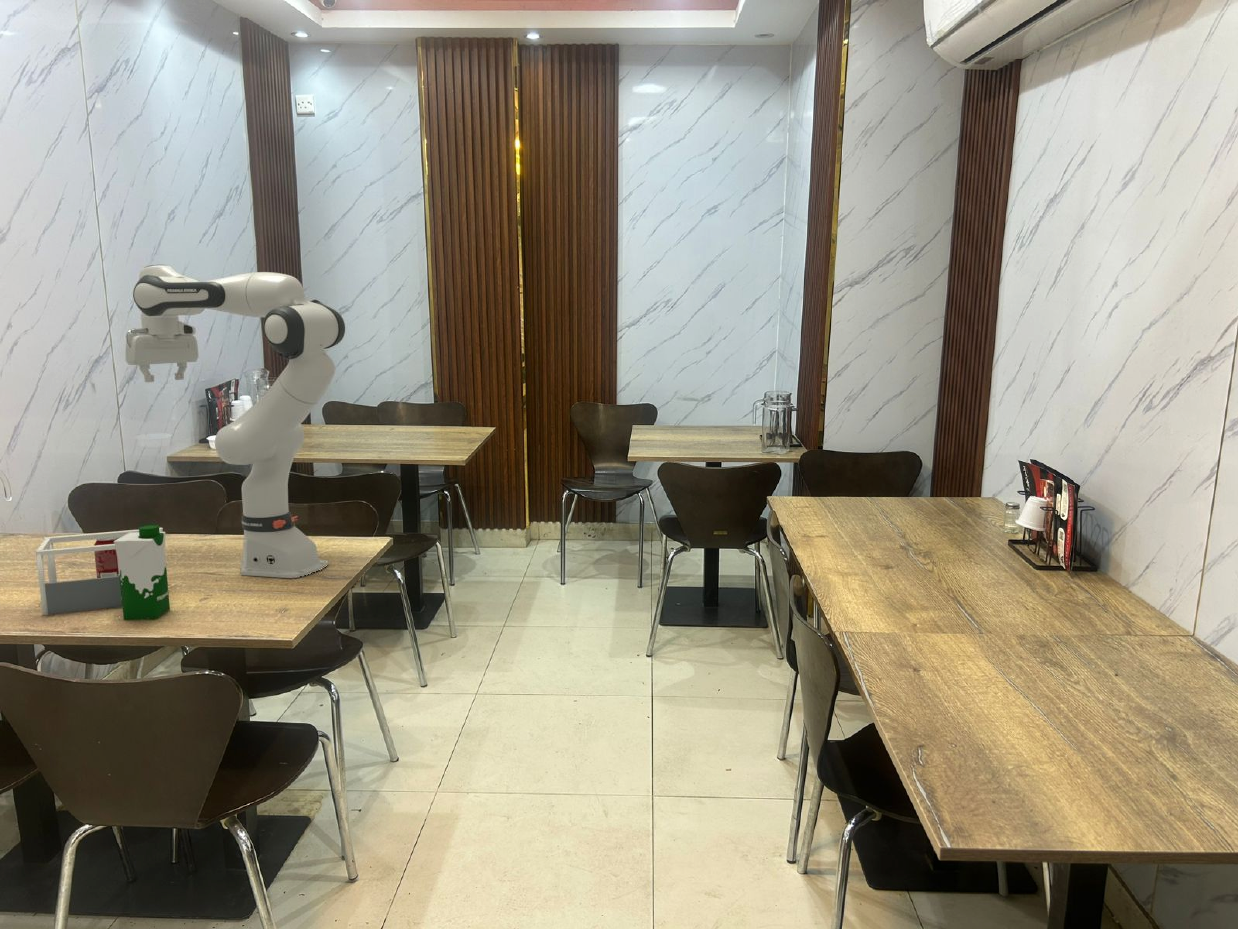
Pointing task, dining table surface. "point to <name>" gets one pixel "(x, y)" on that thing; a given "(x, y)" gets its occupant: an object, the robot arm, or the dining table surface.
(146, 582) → the milk carton
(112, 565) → the soda can
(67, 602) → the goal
